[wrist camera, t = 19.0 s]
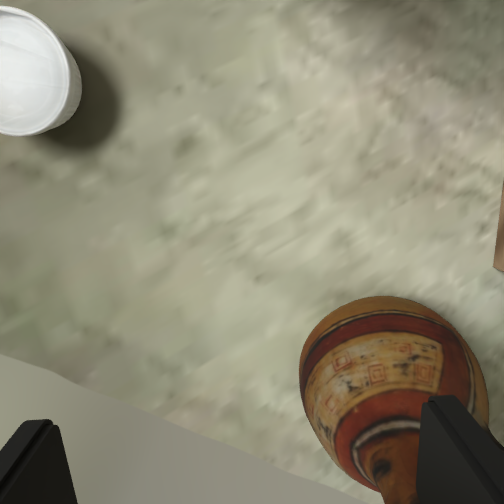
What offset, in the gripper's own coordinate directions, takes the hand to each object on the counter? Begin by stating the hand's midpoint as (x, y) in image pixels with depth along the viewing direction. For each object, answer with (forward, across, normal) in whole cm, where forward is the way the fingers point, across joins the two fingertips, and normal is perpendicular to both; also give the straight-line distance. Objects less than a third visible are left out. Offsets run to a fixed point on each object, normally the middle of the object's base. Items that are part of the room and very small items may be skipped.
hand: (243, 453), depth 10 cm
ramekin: (+37, +21, -15) cm, 45 cm away
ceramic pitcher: (+36, -15, +20) cm, 44 cm away
